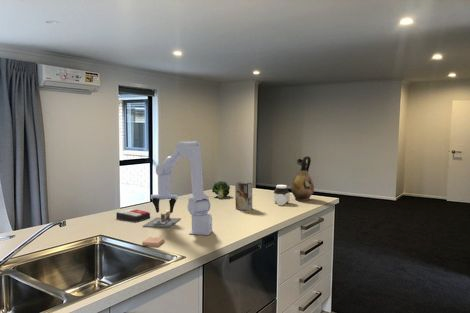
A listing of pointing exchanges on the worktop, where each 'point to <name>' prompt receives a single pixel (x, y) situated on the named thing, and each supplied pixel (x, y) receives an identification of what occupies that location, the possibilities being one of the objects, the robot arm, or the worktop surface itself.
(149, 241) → the tile
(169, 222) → the mat
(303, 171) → the ceramic jug
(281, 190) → the spread jar
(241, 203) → the coffee box
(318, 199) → the worktop surface
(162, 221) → the beige long bar
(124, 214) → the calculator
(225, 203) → the worktop surface
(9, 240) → the worktop surface
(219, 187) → the vegetable
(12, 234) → the worktop surface
